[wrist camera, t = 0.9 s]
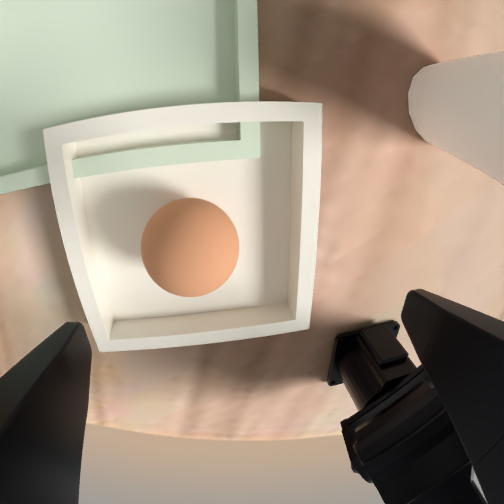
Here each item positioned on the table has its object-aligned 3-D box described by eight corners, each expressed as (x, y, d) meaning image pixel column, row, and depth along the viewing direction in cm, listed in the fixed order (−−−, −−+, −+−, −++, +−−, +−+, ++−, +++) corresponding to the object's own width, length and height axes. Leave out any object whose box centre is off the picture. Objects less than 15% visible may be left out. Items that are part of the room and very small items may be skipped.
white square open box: (295, 303, 23) (309, 329, 21) (107, 324, 21) (99, 352, 18) (302, 102, 17) (322, 102, 14) (64, 124, 15) (42, 129, 12)
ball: (234, 263, 20) (248, 310, 15) (153, 271, 19) (146, 321, 14) (230, 183, 17) (245, 211, 13) (140, 192, 17) (124, 223, 12)
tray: (252, 152, 18) (260, 158, 16) (-14, 192, 15) (-30, 202, 13) (247, -96, 10) (253, -111, 8) (-10, -40, 7) (-23, -47, 5)
